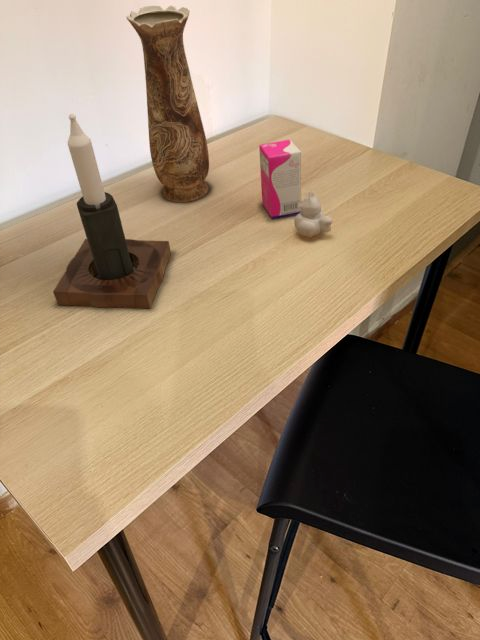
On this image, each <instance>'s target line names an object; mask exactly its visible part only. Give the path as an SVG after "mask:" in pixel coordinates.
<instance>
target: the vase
mask: <svg viewBox="0 0 480 640" xmlns="http://www.w3.org/2000/svg"><path fill="white" fill-rule="evenodd" d="M189 16H190V10H189V8H188V7H184V6H182V7H180V8H179V9H177V8H176V6H174V5H169V6H167V7H166V8H165V9H163V7H162V6H161V5H146V6H143V7H140V8H139V10H138V13H137V12H135V11H130V14H129V15H127V16H125V17H126V20H127V21H128V22H129V24H130V25H131V26H132V28H133V29H134V31H135V32H136V33H137V36H138V37H139V40H140V43H141V47H142V53H143V63H144V65H143V67H144V74H145V76H144V77H145V92H146V106H147V112H146V113H147V127H148V128H147V129H148V143H149V153H150V159H151V163H152V168H153V171H154V173H155V176H156V178H157V180H158V181H159V182H160V183H161V184H162V185H163V188H162V195H163V197H164V198H165V199H166V200H169V201H171V202H174V203H175V202H176V203H188V202H192V201H196V200H198V199H200V198H202V197H204V196H205V195H206V194H207V193H208V191H209V186H208V184H207V182H206V181H205V180H206V179H207V177H208V175H209V172H210V155H209V147H208V142H207V141H208V140H207V137H206V133H205V132H206V131H205V129H204V123H203V121H202V115H201V112H200V109H199V104H198V100H197V97H196V91H195V88H194V84H193V80H192V76H191V71H190V67H189V63H188V60H187V59H188V58H187V55H186V51H185V50H186V49H185V44H184V31H185V27H186V24H187V21H188V19H189Z"/></svg>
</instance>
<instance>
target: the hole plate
mask: <svg viewBox="0 0 480 640" xmlns="http://www.w3.org/2000/svg"><path fill="white" fill-rule="evenodd" d="M125 240H126V244H127V248H128V252H129V256H130V260H131V264H132V266H134V267H136V269H135V270H133V272H132V273H131V274H129V275H128V276H125V277H123V278H120V279H115V280H101V279H99V278H97V277H96V276H97V275H98V273H97V269H96V266H95V263H94V260H93V256H92V253H91V250H90V247H89V243H88V240H87V238H85V239H84V240H83V242H82V243H81V245H80V246H79V248H78V250H77V251H76V253H75V255H74V256H73V258H72V259H71V260H70V261H69V262H68V264H67V266H66V268H65V271H64V273H63V275H62V276H61V278H60V280H59V281H58V283H57V284H56V286H55V288H54V289H53V291H52V293H53V295H54V299H55V300H56V304H57V305H58V306H79V307H93V308H102V309H109V308H110V309H111V308H127V309H128V308H131V309H132V308H133V309H151V307H152V305H153V302H154V299H155V297H156V294H157V292H158V291H157V290H158V289H159V286H160V285H161V284H162V282H163V281H164V280H163V279H164V276H165V271H166V268H167V265H168V263H169V260H170V258H171V255H172V252H171V245H170V240H145V239H144V240H143V239H142V240H139V239H131V238H125Z"/></svg>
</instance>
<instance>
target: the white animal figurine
mask: <svg viewBox="0 0 480 640" xmlns="http://www.w3.org/2000/svg"><path fill="white" fill-rule="evenodd" d="M299 207H300V208H301V209H300V211H301V212H300V213H299V214H298V215H295V217H294V219H293V221H294V222H293V223H294V227H295V229H296V231H297V232H298V234H299V235H301V236H304V237H307V238H312V237H315V236H317V235H319V234H320V233H321V232H322V233H329V232H331V230H332V228H331V225H332V223H333V220H334V219H333V217H332V216H330V215H327V214H325V215H324V212H323V211H322V203H321V200H320V199H319V198H318V196H317V195H316V194H315V192H313V193H311V190H310V189H309V190H308V195H306V197H304V199H303V201H301V204H300V205H299Z"/></svg>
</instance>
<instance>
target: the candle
mask: <svg viewBox="0 0 480 640" xmlns="http://www.w3.org/2000/svg"><path fill="white" fill-rule="evenodd" d="M68 119H69V121H70V123H69V126H70V128H69V129H70V131H69V133H70V134H69V136H68V140H67V147H68V150H69V153H70V157H71V160H72V164H73V167H74V171H75V174H76V177H77V181H78V184H79V188H80V191H81V194H82V196H81V197H80V198H79V199H78V200H77V202H76V207H77V211H78V213H79V217H80V220H81V223H82V227H83V230H84V234H85V236H86V239H87V240H88V243H89V247H90V250H91V253H92V256H93V260H94V263H95V266H96V269H97V275H98V279H101V280H115V279H120V278H123V277H125V276H128V275H129V274H131V273H132V272H134V267H133V265H132V264H131V260H130V256H129V252H128V248H127V244H126V240H125V239H126V236H125V231H124V228H123V227H124V226H123V223H122V219H121V215H120V212H119V211H120V210H119V207H118V204H117V202H116V200H115V198H114V197H113V195H112V194H111V193H109V192H106V191H105V189H104V185H103V181H102V178H101V174H100V170H99V166H98V163H97V162H98V161H97V159H96V155H95V154H96V153H95V151H94V148H93V143H92V139H91V138H90V137H89V136H88V135H87V134H86V133H85V132H84V130H83V129H82V128H81V125H80V124H79V123H78V121H77V116H76V115H75V114H74V113H69V115H68Z"/></svg>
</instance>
